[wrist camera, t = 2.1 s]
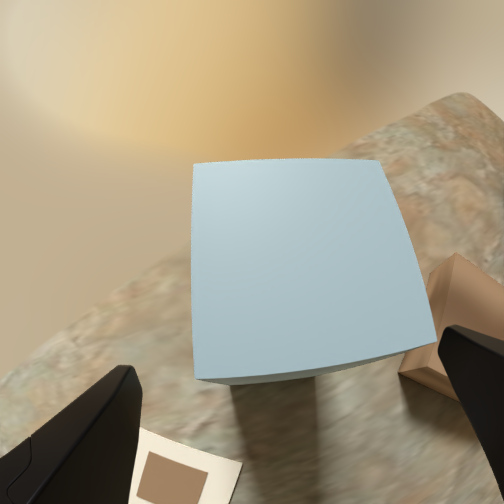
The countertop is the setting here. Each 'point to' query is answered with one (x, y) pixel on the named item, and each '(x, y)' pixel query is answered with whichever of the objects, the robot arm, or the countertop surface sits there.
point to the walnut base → (455, 317)
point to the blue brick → (300, 270)
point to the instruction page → (179, 474)
